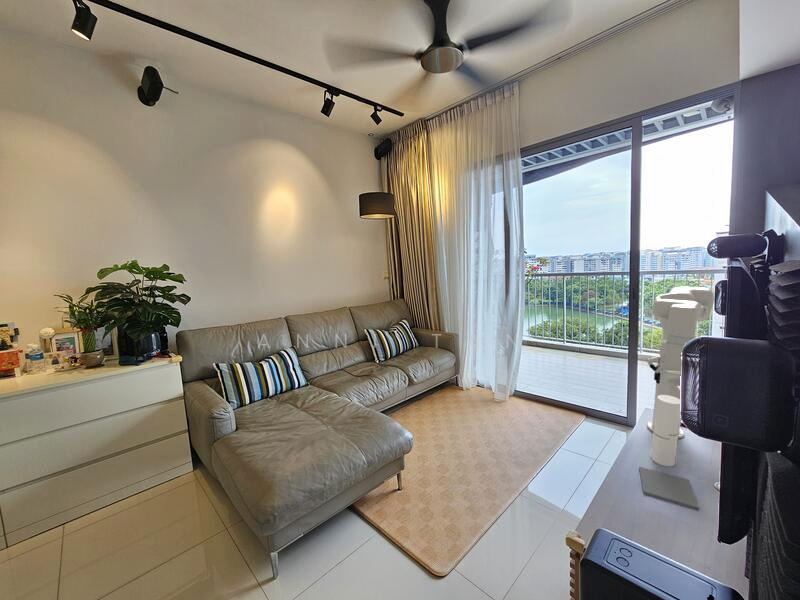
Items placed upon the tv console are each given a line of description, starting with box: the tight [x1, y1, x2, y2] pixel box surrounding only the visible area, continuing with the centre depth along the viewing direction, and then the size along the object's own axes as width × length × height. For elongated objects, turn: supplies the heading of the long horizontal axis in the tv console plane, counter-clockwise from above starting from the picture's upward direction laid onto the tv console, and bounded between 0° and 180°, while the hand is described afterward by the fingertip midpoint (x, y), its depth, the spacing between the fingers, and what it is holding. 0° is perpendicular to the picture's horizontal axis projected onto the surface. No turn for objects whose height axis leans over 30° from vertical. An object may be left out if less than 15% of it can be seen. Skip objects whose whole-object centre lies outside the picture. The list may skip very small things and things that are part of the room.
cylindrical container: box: [650, 395, 681, 467], centre depth 123 cm, size 7×7×25 cm
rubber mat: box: [638, 466, 700, 510], centre depth 112 cm, size 14×14×1 cm
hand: (674, 384), depth 118 cm, fingers open, 9 cm apart
